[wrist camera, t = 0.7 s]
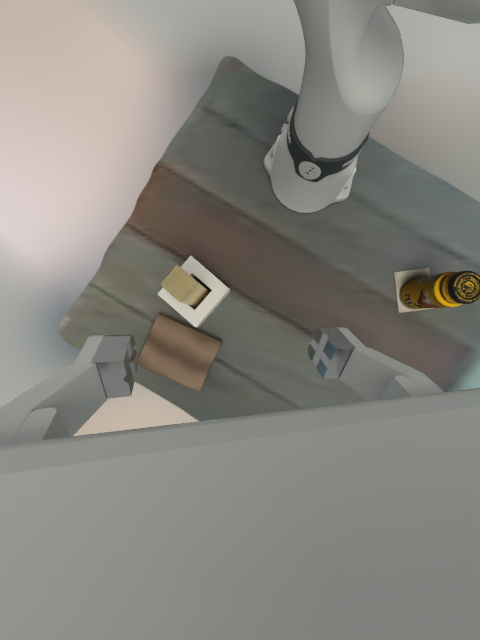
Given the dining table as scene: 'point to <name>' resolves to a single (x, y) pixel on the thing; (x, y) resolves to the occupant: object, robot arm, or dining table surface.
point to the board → (179, 352)
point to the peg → (184, 287)
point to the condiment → (435, 289)
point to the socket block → (208, 303)
